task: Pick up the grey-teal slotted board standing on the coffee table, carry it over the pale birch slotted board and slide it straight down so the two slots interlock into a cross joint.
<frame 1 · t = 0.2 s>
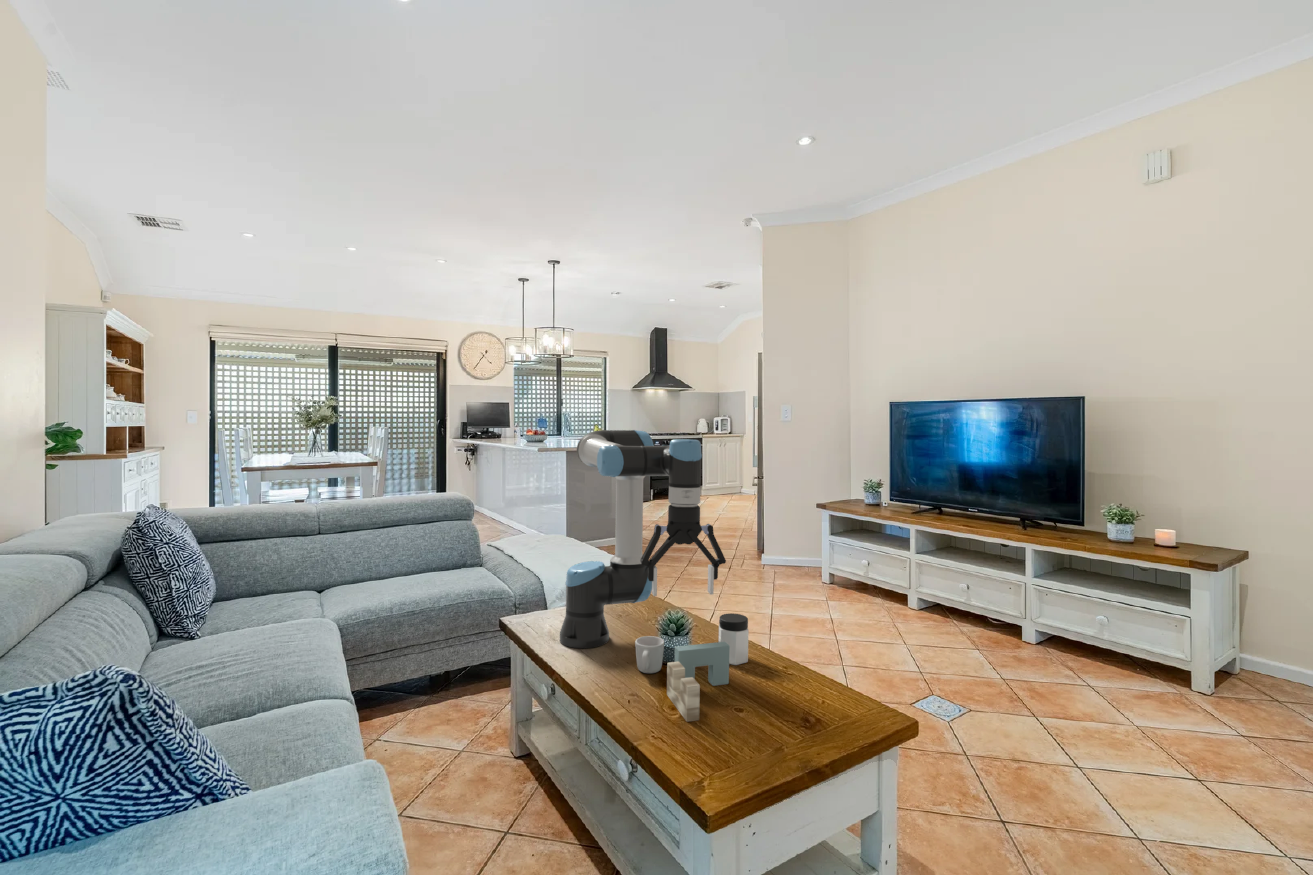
hand: (682, 593, 142), 27 cm above the table, fingers open, 13 cm apart
teal board: (701, 684, 155), on the table
cup: (648, 672, 162), on the table
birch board: (682, 706, 142), on the table
jar: (732, 659, 172), on the table
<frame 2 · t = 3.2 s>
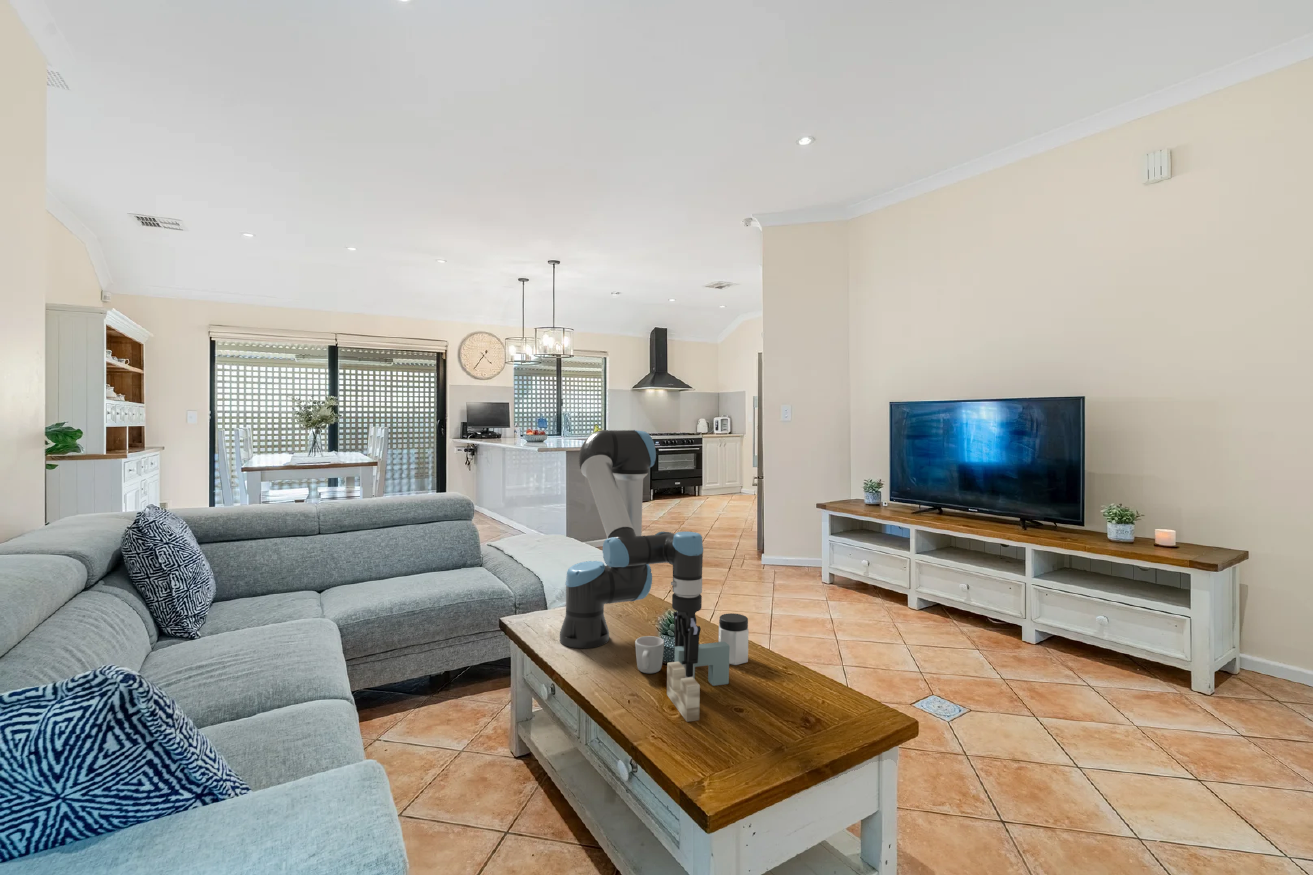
hand: (685, 684, 153), 1 cm above the table, fingers closed on teal board, 3 cm apart
teal board: (701, 684, 155), on the table, touching gripper
everything else where it was.
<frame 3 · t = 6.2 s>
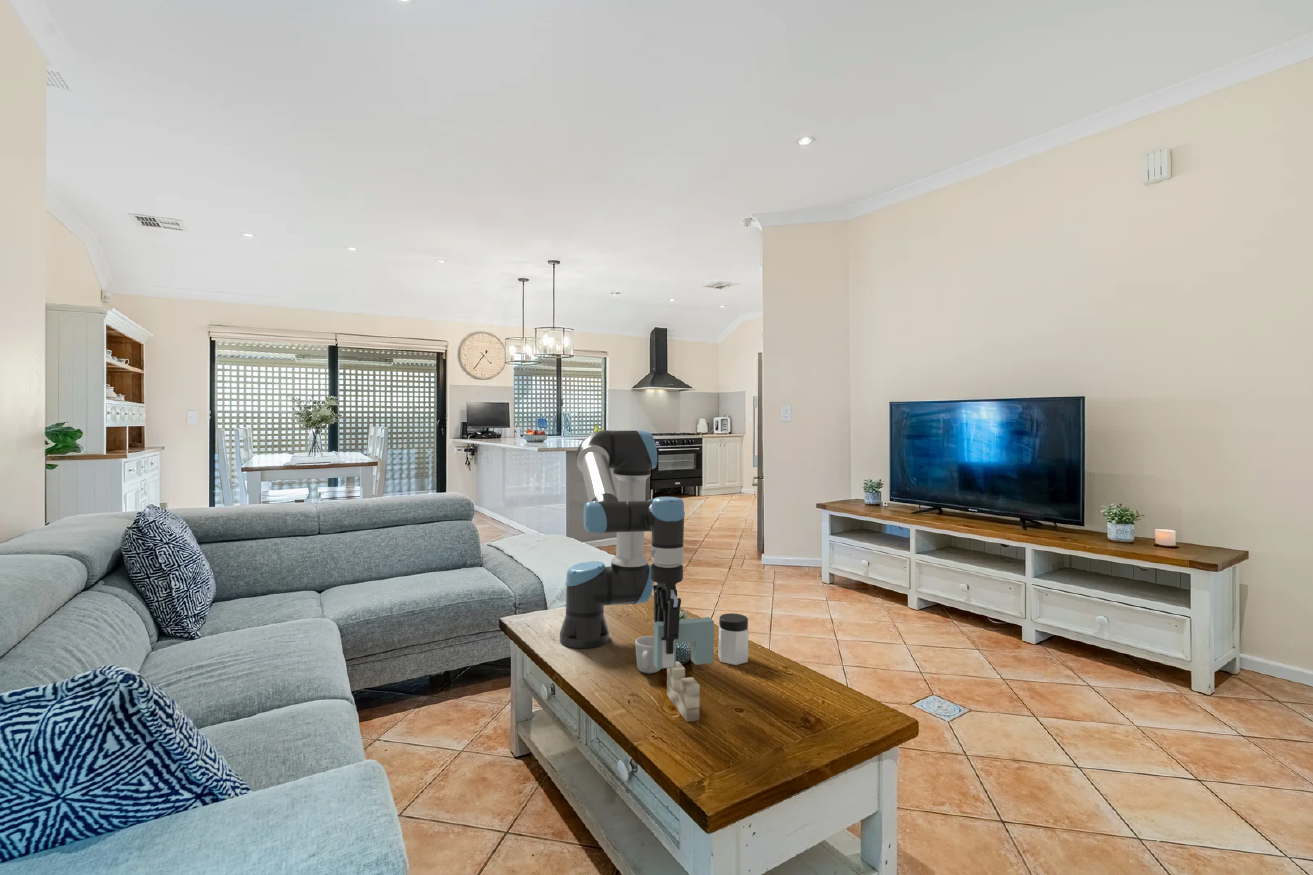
hand: (665, 663, 141), 11 cm above the table, fingers closed on teal board, 3 cm apart
teal board: (683, 663, 142), point 11 cm above the table, touching gripper
everything else where it was.
when the fingers open (1 cm above the table, at t = 9.2 s): teal board stays where it is, on the table.
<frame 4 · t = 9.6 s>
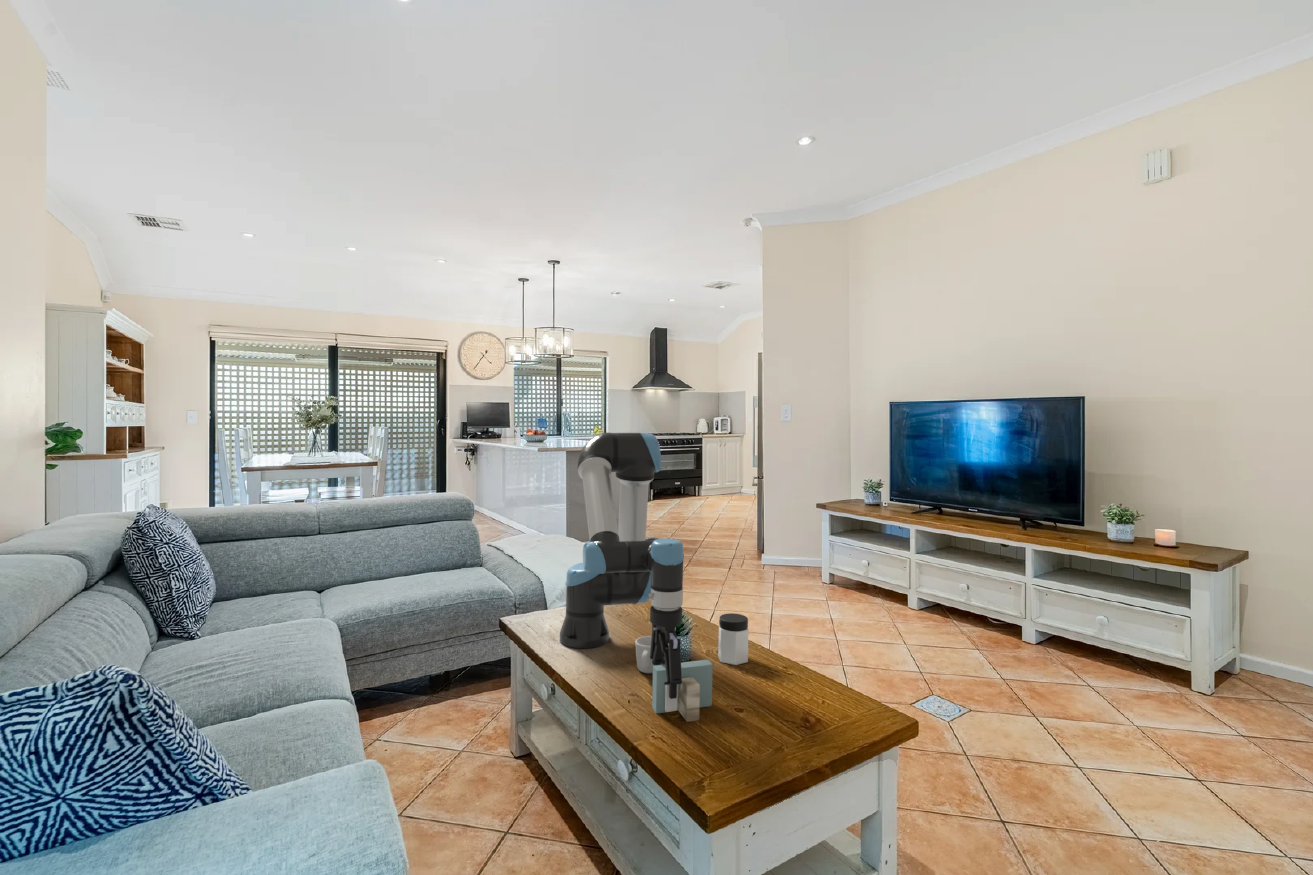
hand: (664, 701, 141), 2 cm above the table, fingers open, 9 cm apart
teal board: (682, 706, 142), on the table
everything else where it was.
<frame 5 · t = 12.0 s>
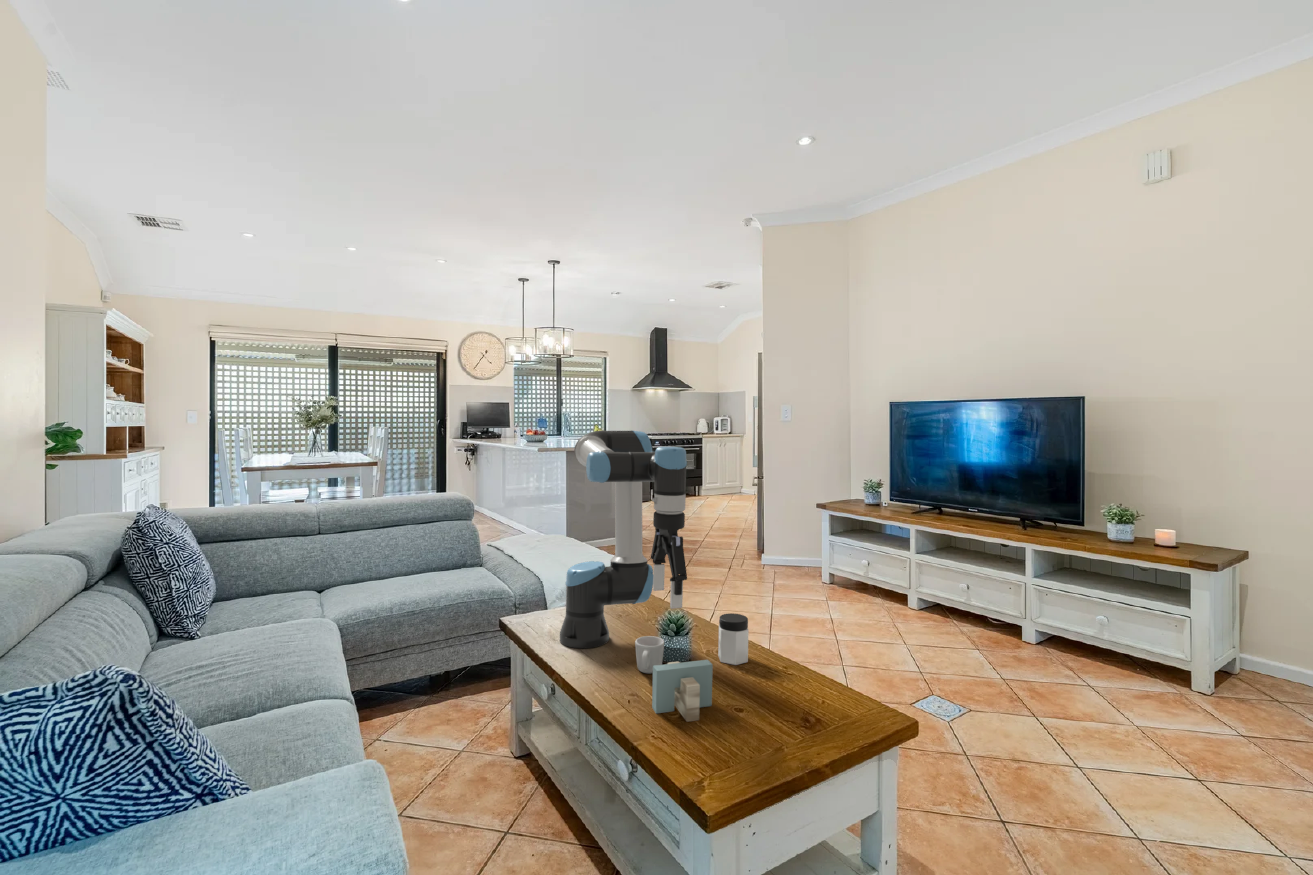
hand: (666, 598, 145), 25 cm above the table, fingers open, 13 cm apart
nothing on the table moved.
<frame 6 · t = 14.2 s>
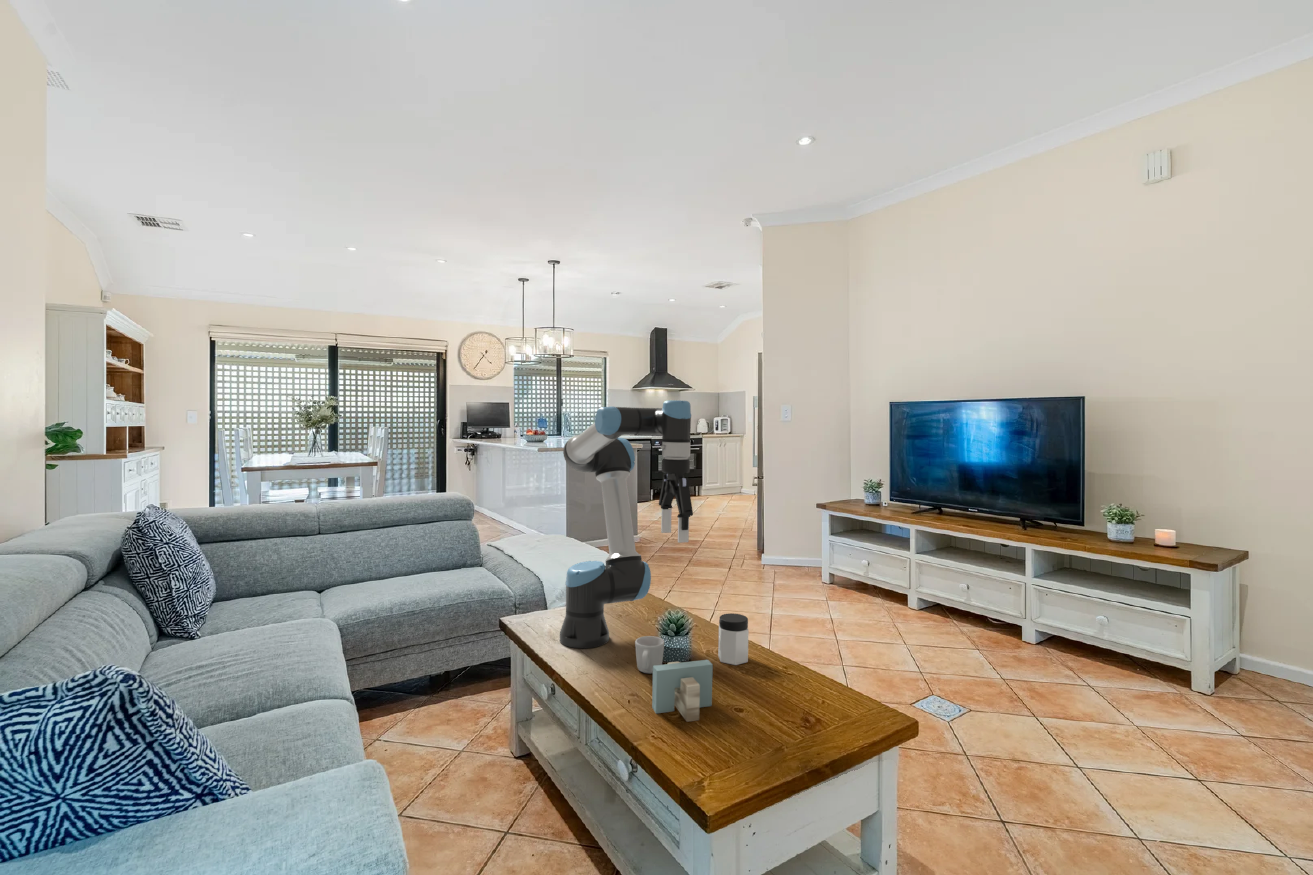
hand: (674, 537, 161), 37 cm above the table, fingers open, 13 cm apart
nothing on the table moved.
at the end: teal board 0.0 cm off-centre on the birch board, point 0.0 cm above the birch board's base; teal board tilted 0°; the gripper is holding nothing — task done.
